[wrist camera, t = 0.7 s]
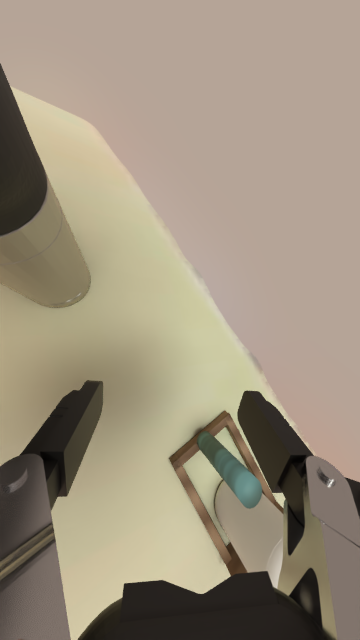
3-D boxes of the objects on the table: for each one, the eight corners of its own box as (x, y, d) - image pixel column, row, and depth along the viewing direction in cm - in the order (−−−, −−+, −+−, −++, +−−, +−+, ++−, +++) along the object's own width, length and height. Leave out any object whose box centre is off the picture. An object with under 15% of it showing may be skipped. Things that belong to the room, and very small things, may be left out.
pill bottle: (243, 531, 30) (352, 697, 16) (205, 517, 28) (289, 687, 14) (258, 480, 32) (364, 584, 18) (224, 464, 30) (311, 564, 16)
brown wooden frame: (166, 453, 28) (199, 531, 16) (222, 407, 32) (281, 441, 20) (224, 560, 28) (298, 716, 16) (272, 499, 32) (358, 587, 20)
